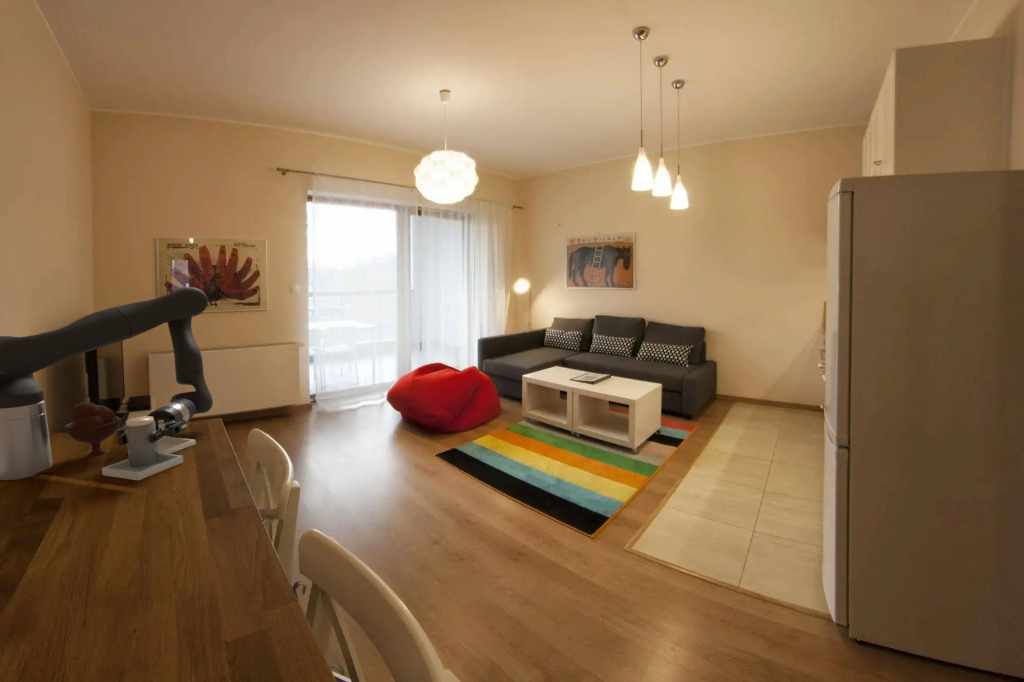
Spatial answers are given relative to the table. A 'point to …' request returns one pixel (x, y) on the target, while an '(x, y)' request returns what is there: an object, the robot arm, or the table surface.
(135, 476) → the glazed dish
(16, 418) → the robot arm
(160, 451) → the tray
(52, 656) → the table surface
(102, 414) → the ice cream bowl
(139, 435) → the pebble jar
